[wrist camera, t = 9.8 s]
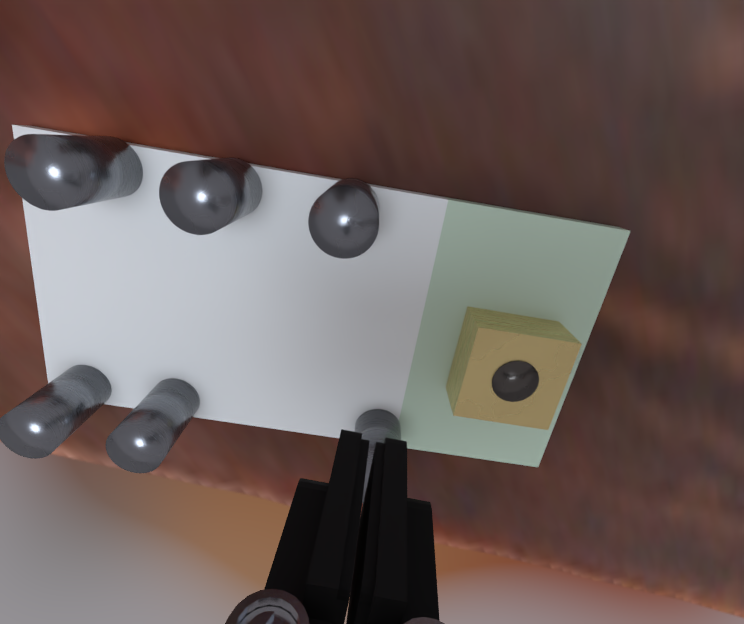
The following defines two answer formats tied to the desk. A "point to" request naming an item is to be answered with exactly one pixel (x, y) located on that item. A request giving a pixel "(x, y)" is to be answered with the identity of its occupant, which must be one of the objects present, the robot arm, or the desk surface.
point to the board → (308, 303)
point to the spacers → (193, 215)
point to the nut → (510, 368)
